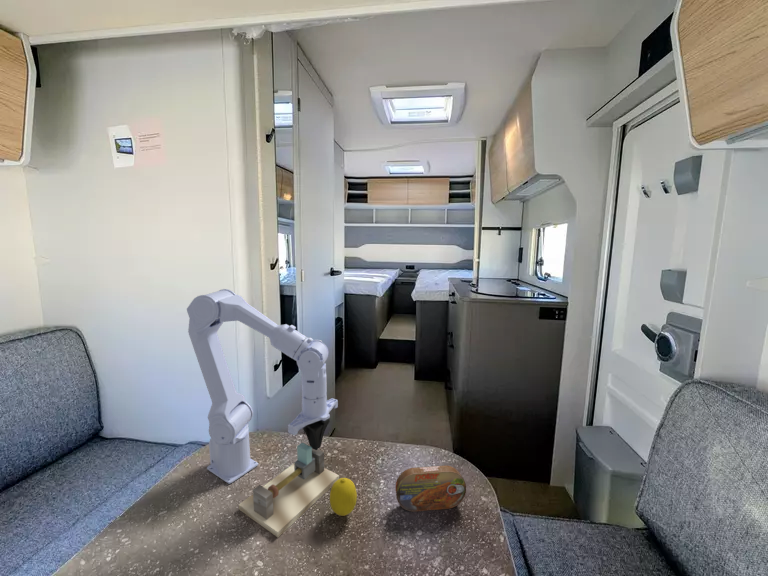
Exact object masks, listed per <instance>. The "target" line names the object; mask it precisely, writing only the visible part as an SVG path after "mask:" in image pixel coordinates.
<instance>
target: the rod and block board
mask: <svg viewBox="0 0 768 576" xmlns="http://www.w3.org/2000/svg"><path fill="white" fill-rule="evenodd" d="M312 457H313V458H315V471H314V472H313V473H311V474H310V475H309V476H308V477H307V478H305V479H302V478H300V477H298V475H299V474H300V473H302V469H301V468H298V469H297V470H295V471H294V463H293V464H291V465H290V466H289V467H287V468H286V469H284V470H283V471H282V472H280V473H279V474H278V475H277V476H275V477H274V478H273V479H271V480H270V481H268V482H267V483H266V484H265V485H263V486H262V485H260V484H259V485H257V486H256V487H255V488H253V489H252V494H251V495H250V496H248V497H247V498H246V499H245V500H243V501H242V502H241V503H239V504H238V509H239V511H240V512H241V513H242V514H244V515H246V517H248V518H250V519H251V520H253V521H254V522H256V523H257V524H258V525H259V526H260V527H262V528H264V529H265V530H267V531H268V532H269V533H270V534H272V535H274V536H275V537H276V538H280V536H281V535H283V534H284V533H285V532H286V531H287V530H288V529H289V528H290V527H291V526H292V525H293V524H295V522H296V521H298V520H299V518H301V516H302V515H304V514H305V513H306V512H307V511H308V510H309V509H310V508H311V507H312V506H313V505H314V504H315V503H317V502H318V501H319V500H320V498H322V497H324V495H325V494H326V493H327V492H328V491H329V490H331V488H332V486H333V484H334V483H335V482H336V481H337V480H338V479H340V475H339V474H337V473H335V472H334V471H331V470H330V469H327V468H325V452H324V451H322V450H320V449H317V450H315V449H312Z"/></svg>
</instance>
